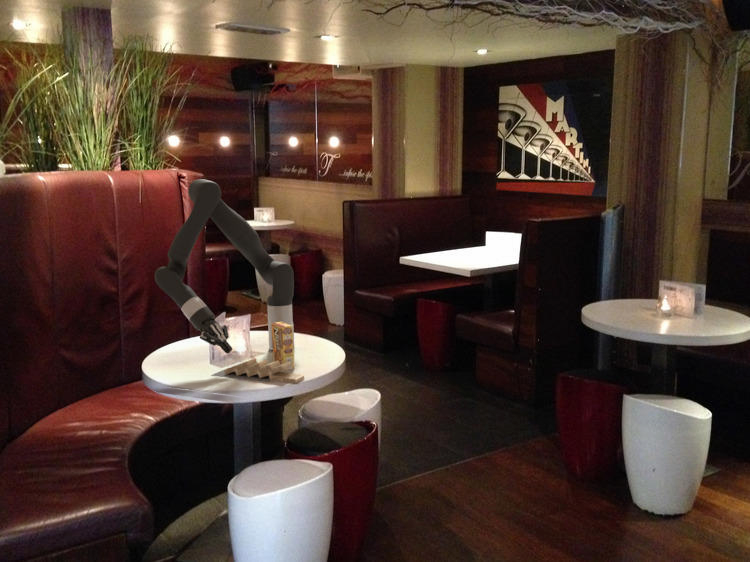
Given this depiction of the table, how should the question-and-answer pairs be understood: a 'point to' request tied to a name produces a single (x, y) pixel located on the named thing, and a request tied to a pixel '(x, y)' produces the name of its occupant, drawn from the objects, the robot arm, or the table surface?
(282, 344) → the candy box
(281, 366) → the domino
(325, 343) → the table surface
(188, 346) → the table surface
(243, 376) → the mat
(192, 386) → the table surface
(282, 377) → the domino
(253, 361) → the domino
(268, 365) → the domino
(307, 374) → the table surface
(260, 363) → the domino
